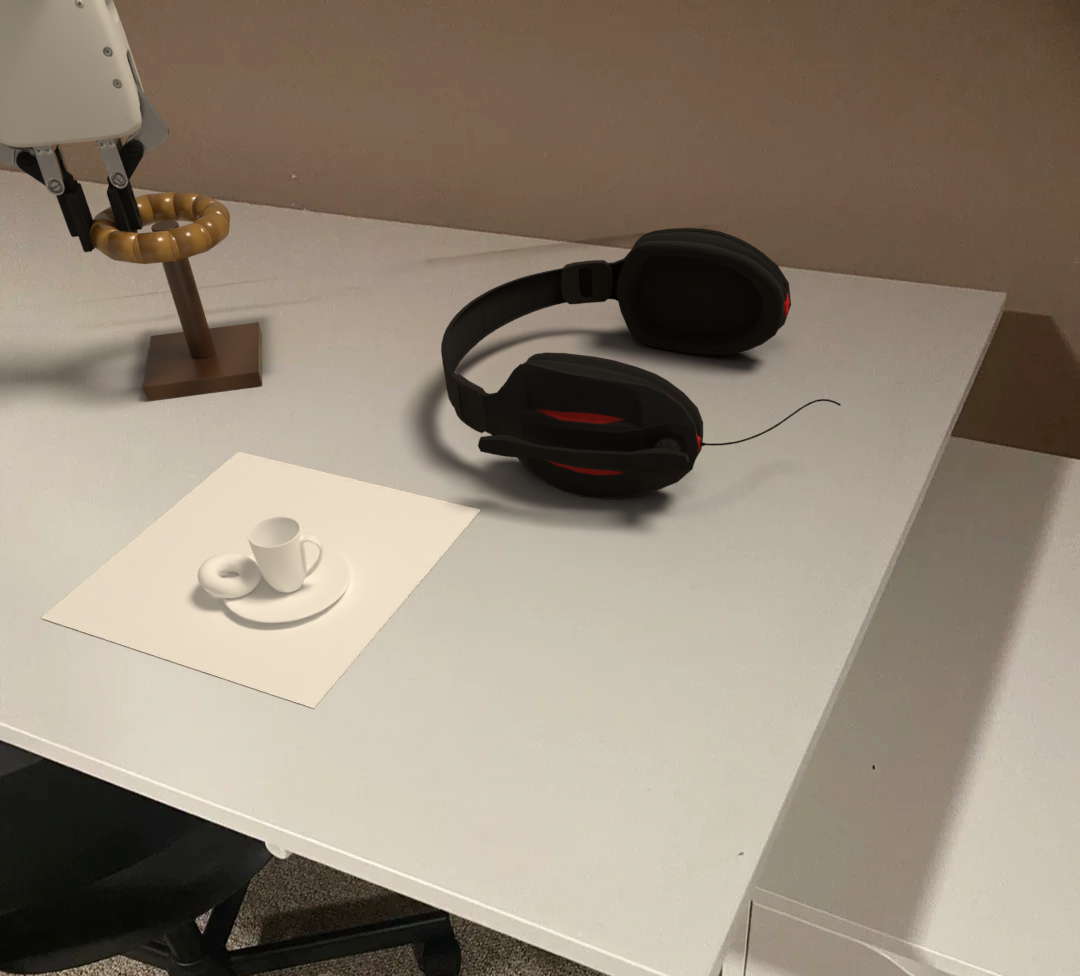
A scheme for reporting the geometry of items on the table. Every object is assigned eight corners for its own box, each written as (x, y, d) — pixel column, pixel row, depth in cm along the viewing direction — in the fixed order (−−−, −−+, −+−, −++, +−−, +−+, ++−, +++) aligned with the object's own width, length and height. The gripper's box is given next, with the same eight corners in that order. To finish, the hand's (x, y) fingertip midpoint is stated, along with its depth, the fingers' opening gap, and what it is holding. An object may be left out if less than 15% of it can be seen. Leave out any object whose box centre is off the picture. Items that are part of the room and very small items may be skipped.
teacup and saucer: (186, 606, 62) (165, 552, 59) (262, 533, 67) (247, 480, 64) (305, 642, 59) (290, 588, 56) (376, 564, 64) (365, 510, 61)
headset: (847, 515, 65) (875, 390, 59) (442, 537, 65) (426, 415, 59) (765, 320, 85) (779, 210, 78) (453, 337, 85) (441, 228, 78)
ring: (88, 274, 72) (78, 245, 70) (103, 222, 79) (94, 195, 77) (231, 259, 73) (224, 230, 71) (233, 210, 80) (227, 183, 78)
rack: (147, 401, 80) (95, 256, 71) (155, 349, 86) (108, 210, 78) (262, 385, 80) (224, 241, 72) (262, 335, 87) (227, 196, 78)
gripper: (145, -88, 65) (221, 212, 79) (-115, -67, 63) (9, 235, 77) (136, -67, 60) (219, 250, 73) (-147, -44, 58) (-9, 276, 72)
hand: (110, 240), depth 75 cm, fingers closed on ring, 2 cm apart
